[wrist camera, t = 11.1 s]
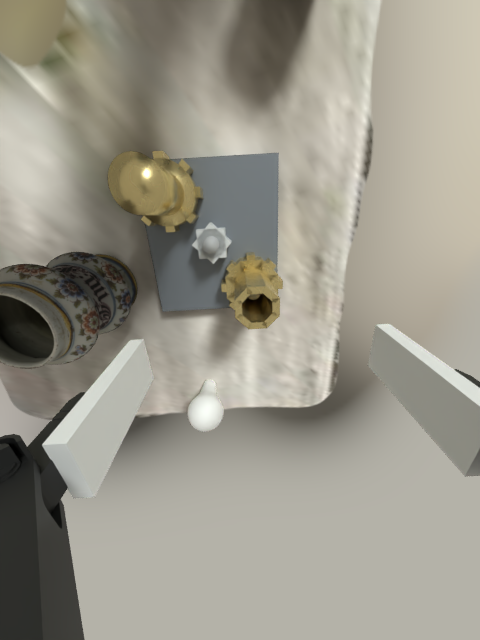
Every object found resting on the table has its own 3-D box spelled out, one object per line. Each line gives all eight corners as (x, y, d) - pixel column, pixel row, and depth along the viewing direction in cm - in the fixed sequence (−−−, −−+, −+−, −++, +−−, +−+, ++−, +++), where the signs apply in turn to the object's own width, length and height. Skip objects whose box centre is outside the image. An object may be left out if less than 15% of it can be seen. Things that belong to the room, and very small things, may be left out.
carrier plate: (138, 164, 32) (105, 146, 24) (275, 156, 32) (289, 135, 24) (165, 307, 41) (148, 329, 32) (275, 301, 41) (285, 322, 32)
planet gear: (220, 254, 35) (212, 270, 24) (279, 250, 35) (299, 265, 24) (224, 309, 39) (220, 345, 28) (278, 306, 39) (295, 341, 28)
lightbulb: (215, 398, 49) (209, 445, 39) (189, 385, 48) (177, 430, 37) (231, 378, 47) (230, 422, 37) (205, 364, 46) (196, 406, 35)
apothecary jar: (64, 241, 36) (-80, 261, 20) (143, 253, 37) (69, 282, 21) (74, 313, 41) (-35, 378, 24) (144, 322, 42) (85, 390, 25)
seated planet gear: (129, 158, 30) (69, 125, 19) (198, 154, 30) (178, 118, 19) (144, 232, 34) (101, 240, 23) (206, 229, 34) (192, 234, 23)
